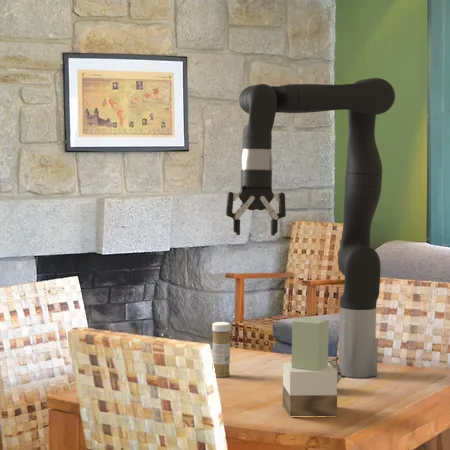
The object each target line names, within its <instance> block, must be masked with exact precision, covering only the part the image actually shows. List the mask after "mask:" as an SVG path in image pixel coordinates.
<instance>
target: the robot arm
mask: <svg viewBox="0 0 450 450" xmlns="http://www.w3.org/2000/svg"><path fill="white" fill-rule="evenodd" d="M395 100H396V93H395V89H394V86H393V85H392V84H391V83H390V82H389V81H388V80H385V79H383V78H380V77H379V78H378V77H371V78H365V79H364V78H363V79H359V80H357V81H356V82H353V83H347V84H346V83H344V84H324V83H323V84H322V83H321V84H319V83H318V84H317V83H291V84H283V85H277V86H275V85H269V84H267V83H259V84H255V85H254V84H253V85H248V86H247V87H245V88H244V89H243V90H242V91H241V92H240V94H239V97H238V103H239V106H240V108H241V110H243V111H244V112H245V113H247V114H248V122H247V124H246V125H245V126H244V127H243V129H242V147H241V148H242V150H241V157H240V158H241V159H240V191H239V192H233V191H228V192H227V196H226V209H225V215H226V216H227V217H229V218H231V219H232V220H233V221H232V223H233V227H232V229H233V230H232V231H233V232H234V233H235V235H236V236H240V234H241V219H240V218H242V215H243V214H244V213H246V211H247V210H249V211H256V210H258V211H264V210H265V211H266V212H267V213H268V215H269V216H270V217H271V220H270V236H271V237H272V236H273V237H274V236H275V235H276V234H278V229H279V226H278V225H279V224H278V223H279V220H280V219H283V218H285V217H287V212H286V194H285V192H277V193H274V192H273V154H272V145H273V144H272V143H273V142H272V140H273V137H272V136H273V135H272V131H273V127H274V123H275V117H276V114H279V113H283V114H307V113H308V114H309V113H320V112H329V111H340V110H341V111H342V110H343V111H345V110H347V113H348V114H347V115H348V116H347V117H348V119H347V120H348V121H347V122H348V137H347V138H348V140H347V141H348V142H347V154H346V167H345V168H346V169H345V181H344V196H343V197H344V199H343V223H342V224H343V225H342V226H343V227H342V233H341V237H340V242H339V243H340V244H339V250H338V254H337V255H338V256H337V265H338V269H339V271H340V272H341V274H342V275H343V276H344V287H343V293H342V295H340V298H339V299H340V300H339V331H338V333H339V334H338V336H339V337H338V339H339V340H338V366H339V368H340V371H341V374H342V376H345V377H347V378H348V377H349V378H360V379H361V378H371V377H377V376H378V357H379V356H378V354H379V353H378V352H379V346H378V345H379V339H378V338H377V337H376V335H377V334H376V332H377V329H376V328H377V303H378V299H379V295H380V287H381V272H382V271H381V269H382V268H381V259H380V256H379V253H378V252H377V251H376V250H375V249H374V248H372V247H371V230H372V229H371V227H372V222H373V219H374V216H375V214H376V210H377V209H378V208H377V207H378V205H379V201H380V198H381V193H382V182H383V164H382V160H381V156H380V152H379V149H378V146H377V142H376V138H375V137H376V135H375V134H376V133H375V132H376V131H375V128H376V119H377V115H381V114H385V113H386V112H388V111H390V109H391V108H392V107H393V105H394V104H395ZM238 198H239V200H240V201H241V205H240V206H239V207H238V209H237V210H236V211H235V212H233V209H234V202H236V200H237V199H238ZM274 198H275V201H276V202H277V203H278V213H277V212H275V209H274V208H273V207H272V205H271V204H270V203H271V202H272V201H273V199H274Z"/></svg>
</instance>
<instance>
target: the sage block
mask: <svg viewBox="0 0 450 450" xmlns="http://www.w3.org/2000/svg"><path fill="white" fill-rule="evenodd" d="M291 322H292V323H291V362H292V368H299V369H308V370H320V369H322V368H324V367H326V366H328V359H329V319H322V318H320V319H319V318H310V317H309V318H307V317H302V318H298V319H294V320H293V321H291Z"/></svg>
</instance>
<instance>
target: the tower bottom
mask: <svg viewBox="0 0 450 450" xmlns="http://www.w3.org/2000/svg"><path fill="white" fill-rule="evenodd" d="M282 407H284V408H285V409H284V408H283V409H284V410H286V411H287V412H286V411H285V412H286V414H287V413H288V414H289V415H290V416H337V417H338V394H337V395H289V393H288V392H287V390H286V389H285V387H284V385H283V384H282ZM288 414H287V415H288ZM289 415H288V416H289Z"/></svg>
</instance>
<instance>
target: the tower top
mask: <svg viewBox="0 0 450 450" xmlns="http://www.w3.org/2000/svg"><path fill="white" fill-rule="evenodd" d="M282 370H283V371H282V374H283V377H282V378H283V379H282V386H283V385H284V387H285V389H286V390H287V392H288V393H289V395H337V396H338V384H337V371H336V370H335V369H334V368H333V367H332V366H331V365H330V364H329V362H328V366H326V367H324V368H322V369H320V370H308V369H299V368H292V361H290V362H289V361H287V362H283V369H282Z"/></svg>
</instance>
